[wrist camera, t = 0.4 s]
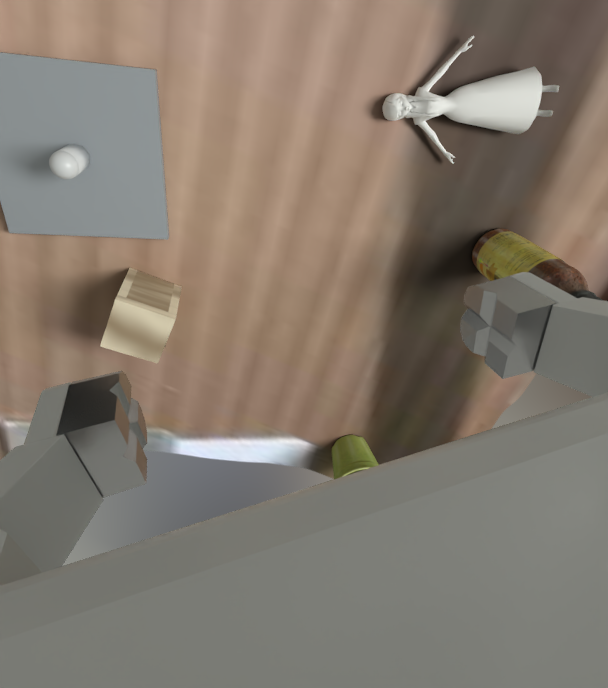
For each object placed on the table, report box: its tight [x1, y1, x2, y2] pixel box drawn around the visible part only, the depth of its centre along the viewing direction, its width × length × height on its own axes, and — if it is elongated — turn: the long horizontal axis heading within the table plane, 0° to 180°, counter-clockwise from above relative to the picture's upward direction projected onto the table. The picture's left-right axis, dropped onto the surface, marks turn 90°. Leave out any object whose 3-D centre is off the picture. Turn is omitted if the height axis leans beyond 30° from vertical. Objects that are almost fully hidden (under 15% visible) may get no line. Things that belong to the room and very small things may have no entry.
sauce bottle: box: [472, 229, 603, 301], centre depth 48 cm, size 6×6×20 cm
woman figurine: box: [382, 36, 559, 164], centre depth 44 cm, size 12×4×18 cm
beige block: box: [100, 268, 182, 363], centre depth 49 cm, size 6×6×8 cm
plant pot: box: [332, 435, 379, 479], centre depth 69 cm, size 9×9×9 cm
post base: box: [0, 52, 169, 239], centre depth 40 cm, size 16×16×6 cm
